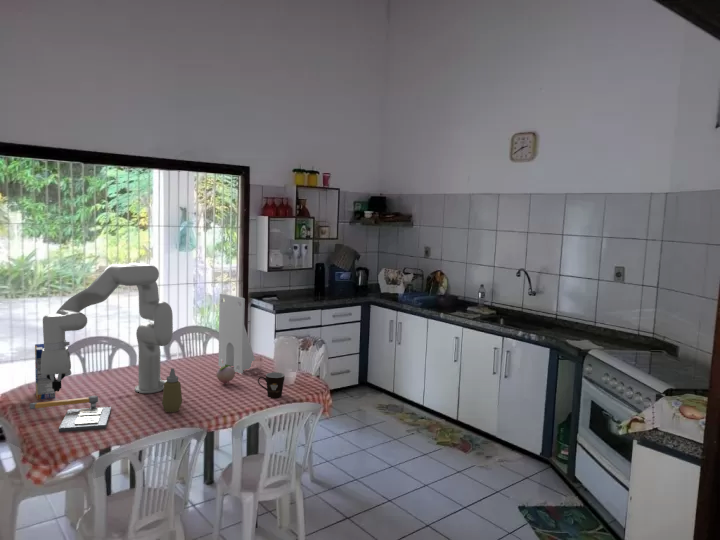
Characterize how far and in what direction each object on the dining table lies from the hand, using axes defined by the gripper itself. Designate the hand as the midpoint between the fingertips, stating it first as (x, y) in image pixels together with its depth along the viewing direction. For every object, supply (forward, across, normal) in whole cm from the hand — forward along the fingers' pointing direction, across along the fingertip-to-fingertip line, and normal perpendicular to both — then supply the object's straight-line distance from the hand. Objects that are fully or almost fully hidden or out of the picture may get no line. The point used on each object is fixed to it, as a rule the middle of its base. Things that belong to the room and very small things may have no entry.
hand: (57, 390), depth 224 cm
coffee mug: (+13, -87, -9) cm, 89 cm away
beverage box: (+11, +10, -28) cm, 31 cm away
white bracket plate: (+14, -78, -56) cm, 97 cm away
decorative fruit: (+13, -68, -30) cm, 75 cm away
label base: (+11, -11, +6) cm, 17 cm away
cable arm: (+7, -2, -3) cm, 8 cm away
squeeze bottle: (+12, -43, +2) cm, 45 cm away
